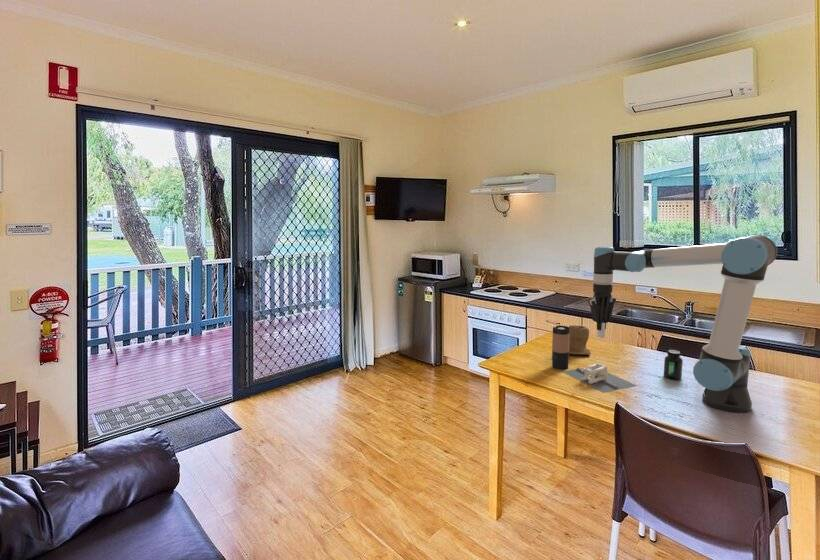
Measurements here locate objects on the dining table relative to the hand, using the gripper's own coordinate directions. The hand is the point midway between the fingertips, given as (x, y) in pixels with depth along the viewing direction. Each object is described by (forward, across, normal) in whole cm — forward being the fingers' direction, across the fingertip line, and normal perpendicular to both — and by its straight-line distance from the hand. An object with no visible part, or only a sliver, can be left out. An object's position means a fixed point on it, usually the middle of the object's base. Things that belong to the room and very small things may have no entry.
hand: (601, 337), depth 185 cm
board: (+20, -1, -2) cm, 20 cm away
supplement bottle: (+20, -32, +9) cm, 39 cm away
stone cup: (+20, -16, -35) cm, 44 cm away
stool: (+15, -1, 0) cm, 15 cm away
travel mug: (+20, +5, -20) cm, 29 cm away
